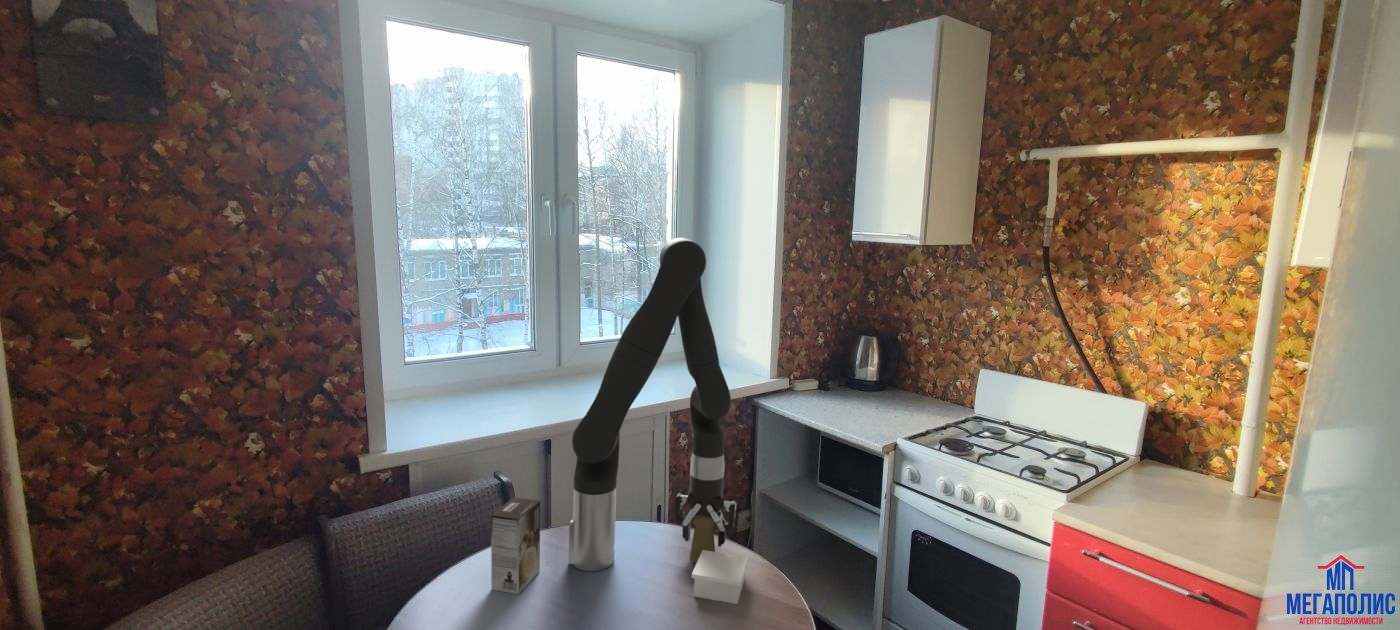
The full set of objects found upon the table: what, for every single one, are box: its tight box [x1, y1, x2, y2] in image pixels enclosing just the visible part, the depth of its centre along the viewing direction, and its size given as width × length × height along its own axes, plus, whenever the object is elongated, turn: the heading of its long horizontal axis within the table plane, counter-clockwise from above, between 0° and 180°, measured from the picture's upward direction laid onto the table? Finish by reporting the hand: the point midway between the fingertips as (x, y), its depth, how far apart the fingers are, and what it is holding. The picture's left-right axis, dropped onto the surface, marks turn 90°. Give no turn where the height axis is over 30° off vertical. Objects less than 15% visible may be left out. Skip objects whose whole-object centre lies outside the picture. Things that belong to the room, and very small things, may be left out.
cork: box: [689, 514, 717, 565], centre depth 138 cm, size 6×6×11 cm
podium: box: [691, 550, 749, 605], centre depth 127 cm, size 10×10×5 cm
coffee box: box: [490, 497, 541, 595], centre depth 125 cm, size 9×6×16 cm
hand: (703, 542), depth 138 cm, fingers open, 7 cm apart
